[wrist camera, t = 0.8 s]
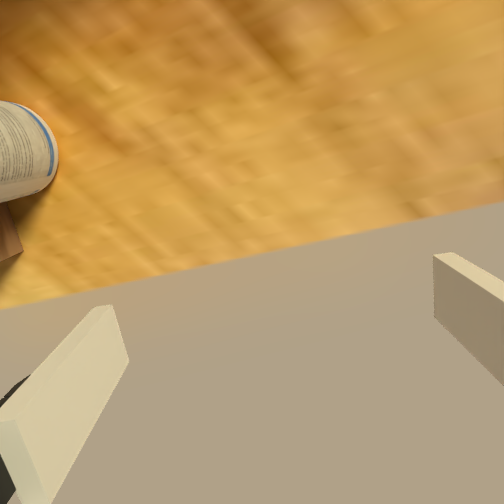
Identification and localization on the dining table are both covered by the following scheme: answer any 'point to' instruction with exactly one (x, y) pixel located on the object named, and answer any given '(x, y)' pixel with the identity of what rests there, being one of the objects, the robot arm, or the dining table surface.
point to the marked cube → (8, 234)
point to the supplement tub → (24, 152)
